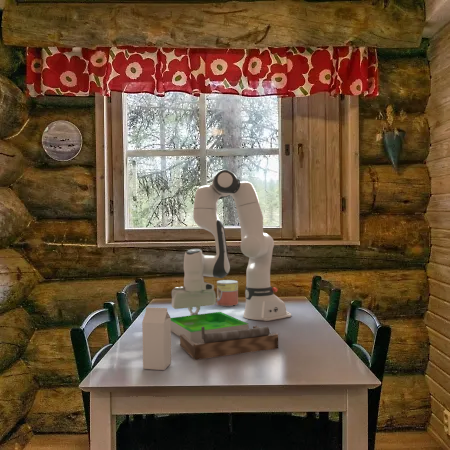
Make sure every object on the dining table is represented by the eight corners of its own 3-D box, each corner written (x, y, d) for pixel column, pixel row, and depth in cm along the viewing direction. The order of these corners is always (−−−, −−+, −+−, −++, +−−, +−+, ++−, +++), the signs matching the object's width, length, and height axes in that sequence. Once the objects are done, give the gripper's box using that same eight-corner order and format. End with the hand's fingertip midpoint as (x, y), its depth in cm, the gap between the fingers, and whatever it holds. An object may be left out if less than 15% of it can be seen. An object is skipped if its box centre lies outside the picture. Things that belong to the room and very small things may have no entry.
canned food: (213, 303, 248) (213, 280, 248) (232, 301, 253) (232, 279, 253) (222, 307, 238) (222, 283, 238) (241, 305, 243) (241, 282, 242)
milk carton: (164, 370, 144) (163, 310, 144) (142, 369, 146) (141, 309, 145) (171, 363, 151) (170, 305, 151) (150, 362, 153) (150, 305, 152)
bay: (256, 335, 183) (256, 309, 183) (279, 348, 166) (278, 319, 166) (180, 345, 171) (179, 317, 171) (195, 360, 154) (195, 329, 154)
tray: (191, 345, 173) (191, 332, 173) (167, 330, 195) (167, 318, 195) (248, 336, 185) (248, 323, 185) (220, 322, 207) (220, 311, 207)
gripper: (173, 288, 198) (174, 320, 198) (217, 285, 206) (217, 315, 207) (169, 286, 203) (169, 317, 204) (211, 283, 212) (212, 313, 213)
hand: (194, 316), depth 205 cm, fingers closed
